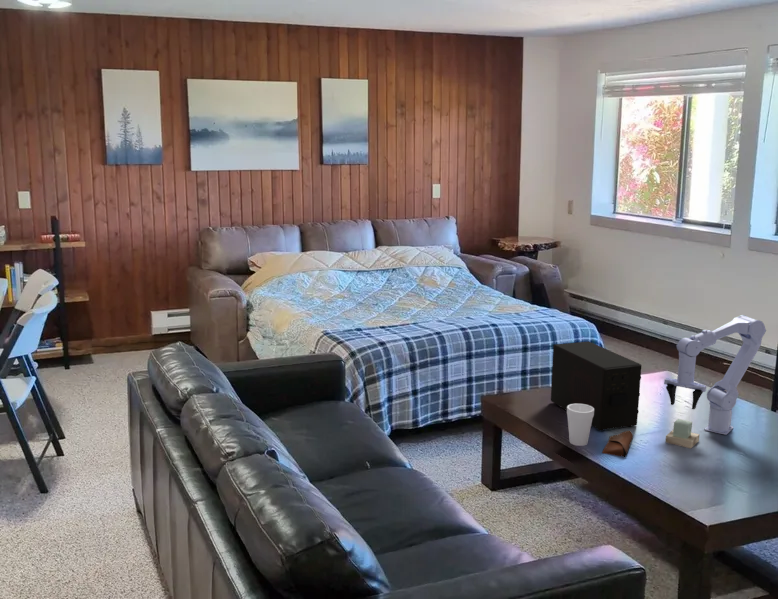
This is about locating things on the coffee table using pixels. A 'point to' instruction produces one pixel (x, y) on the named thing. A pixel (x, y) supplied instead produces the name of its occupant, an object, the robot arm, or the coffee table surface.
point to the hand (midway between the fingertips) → (683, 406)
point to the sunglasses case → (619, 444)
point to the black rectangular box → (596, 383)
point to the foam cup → (579, 423)
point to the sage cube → (682, 428)
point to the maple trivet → (682, 440)
